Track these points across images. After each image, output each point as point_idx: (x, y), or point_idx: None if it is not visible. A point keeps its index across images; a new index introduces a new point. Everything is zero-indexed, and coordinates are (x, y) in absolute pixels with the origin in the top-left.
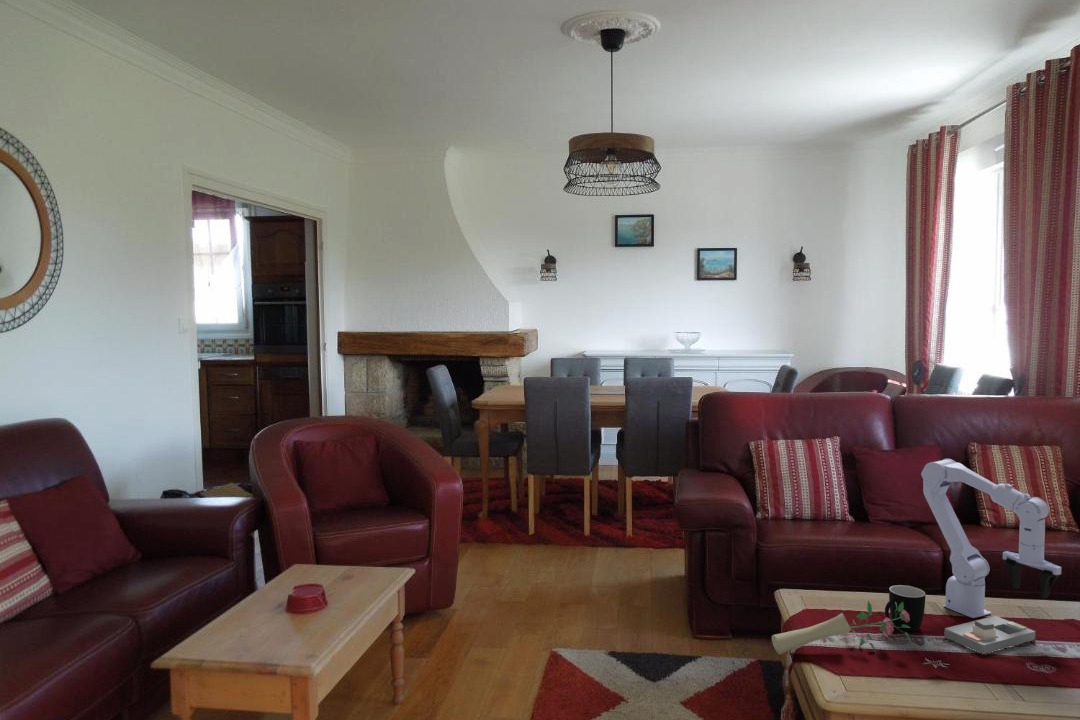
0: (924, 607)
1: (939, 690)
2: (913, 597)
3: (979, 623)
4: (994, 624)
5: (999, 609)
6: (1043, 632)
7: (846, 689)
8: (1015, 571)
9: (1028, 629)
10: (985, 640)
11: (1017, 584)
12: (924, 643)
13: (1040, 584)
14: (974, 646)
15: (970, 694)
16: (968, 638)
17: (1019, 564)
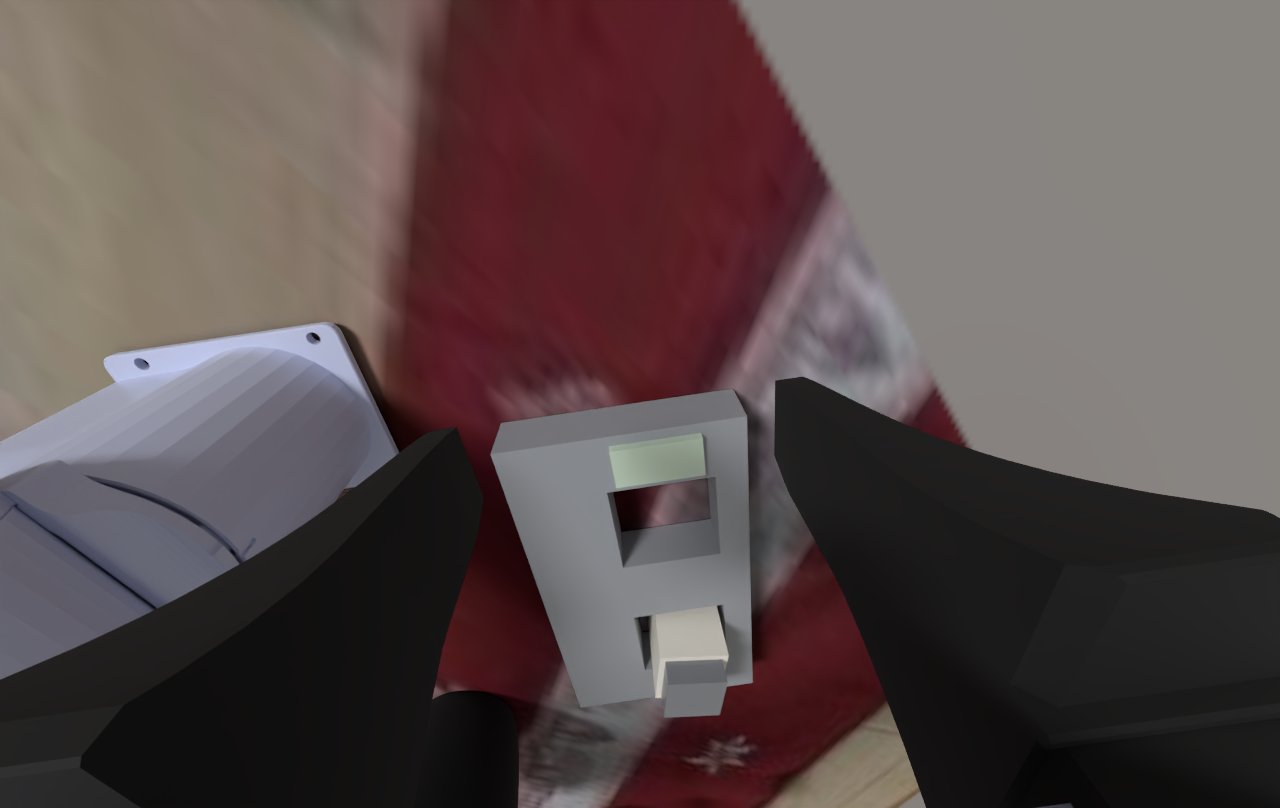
0: (494, 806)
1: (829, 797)
2: None
3: (691, 713)
4: (601, 537)
5: (230, 180)
6: (668, 238)
7: None
8: (397, 697)
9: (712, 430)
10: None
11: (456, 492)
12: (605, 727)
13: (851, 610)
14: None
15: (878, 766)
16: None
17: (266, 782)
